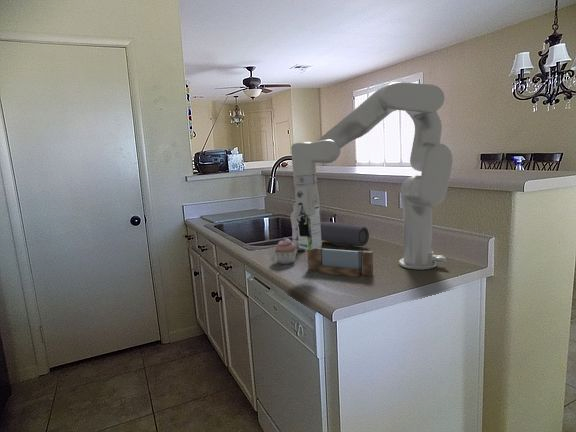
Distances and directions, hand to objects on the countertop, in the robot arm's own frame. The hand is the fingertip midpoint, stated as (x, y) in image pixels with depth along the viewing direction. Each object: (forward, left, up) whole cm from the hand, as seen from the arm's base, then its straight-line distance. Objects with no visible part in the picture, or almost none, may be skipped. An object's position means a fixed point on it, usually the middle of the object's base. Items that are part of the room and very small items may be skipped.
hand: (309, 232), depth 127 cm
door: (-9, -7, -15) cm, 18 cm away
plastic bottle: (+19, -30, -15) cm, 38 cm away
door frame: (-8, -6, -15) cm, 18 cm away
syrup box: (0, 0, -5) cm, 5 cm away
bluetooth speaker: (+4, -43, -15) cm, 45 cm away
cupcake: (+16, -12, -15) cm, 25 cm away
